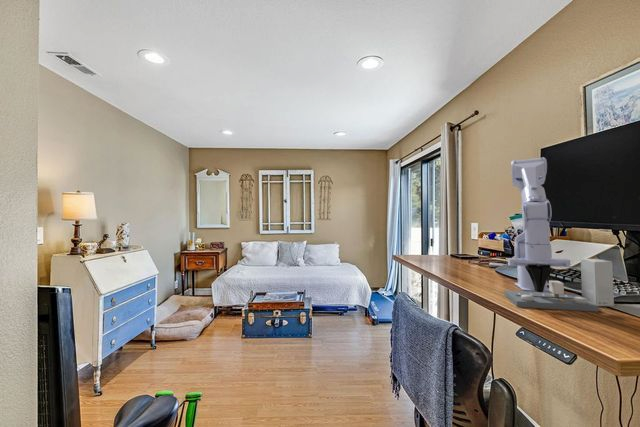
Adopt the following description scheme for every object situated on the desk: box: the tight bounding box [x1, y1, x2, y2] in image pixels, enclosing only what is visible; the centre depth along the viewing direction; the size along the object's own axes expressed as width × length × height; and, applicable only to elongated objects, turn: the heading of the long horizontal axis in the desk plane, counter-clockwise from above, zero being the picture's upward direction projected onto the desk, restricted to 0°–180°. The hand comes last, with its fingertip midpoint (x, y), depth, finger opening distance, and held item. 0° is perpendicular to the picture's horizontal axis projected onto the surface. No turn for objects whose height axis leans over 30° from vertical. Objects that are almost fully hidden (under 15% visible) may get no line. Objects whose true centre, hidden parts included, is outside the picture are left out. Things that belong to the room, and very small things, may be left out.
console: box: [503, 289, 600, 312], centre depth 84 cm, size 12×18×3 cm, turn 72°
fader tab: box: [548, 280, 565, 297], centre depth 83 cm, size 3×2×4 cm
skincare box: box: [580, 258, 615, 307], centre depth 82 cm, size 6×4×12 cm
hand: (538, 291), depth 84 cm, fingers closed
